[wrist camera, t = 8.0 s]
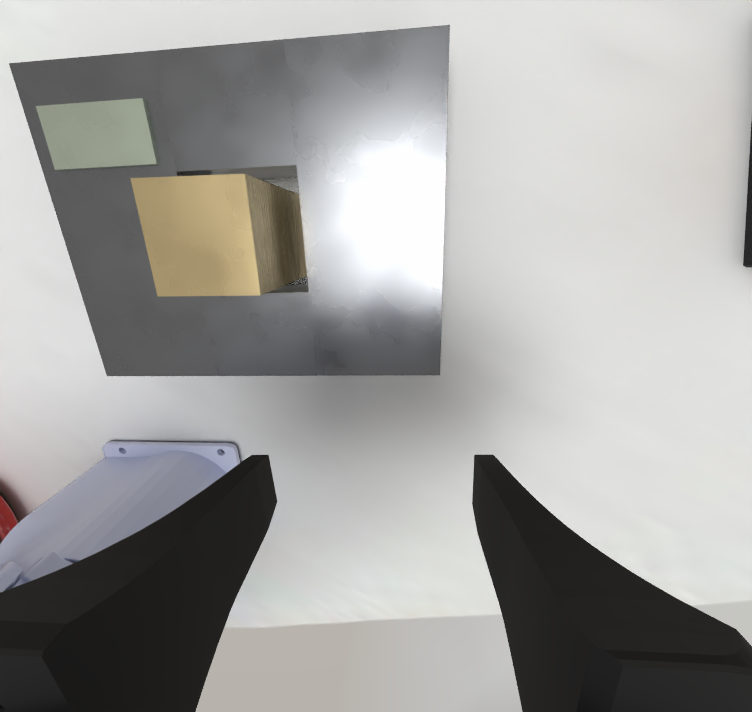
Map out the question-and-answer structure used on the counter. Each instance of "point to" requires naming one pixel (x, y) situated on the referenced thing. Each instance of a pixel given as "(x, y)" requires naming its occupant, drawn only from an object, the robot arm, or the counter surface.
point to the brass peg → (220, 234)
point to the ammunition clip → (749, 215)
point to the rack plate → (263, 161)
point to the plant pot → (6, 519)
